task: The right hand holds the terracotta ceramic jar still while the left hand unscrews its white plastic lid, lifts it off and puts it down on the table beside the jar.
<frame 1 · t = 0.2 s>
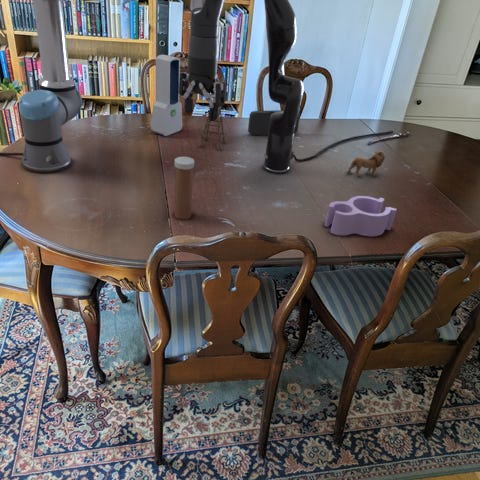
left hand: (198, 84, 152), 30 cm above the table, tool pointing down, fingers open, 13 cm apart
right hand: (200, 116, 127), 29 cm above the table, tool pointing down, fingers open, 8 cm apart
jar: (182, 215, 139), on the table
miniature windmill: (212, 144, 188), on the table
lid: (184, 161, 130), point 17 cm above the table, screwed on, not yet turned
lion figurine: (363, 174, 177), on the table
electronic device: (166, 131, 196), on the table
sword: (389, 139, 213), on the table
handheld gaming console: (272, 134, 205), on the table
clip: (356, 226, 143), on the table
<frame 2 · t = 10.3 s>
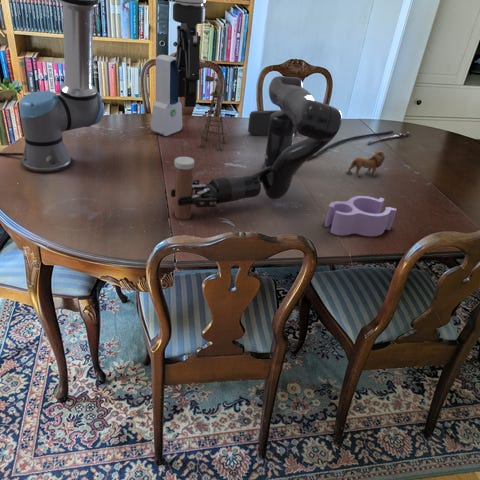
left hand: (186, 101, 121), 34 cm above the table, tool pointing down, fingers open, 7 cm apart
right hand: (175, 197, 135), 6 cm above the table, tool horizontal, fingers closed on jar, 5 cm apart
jar: (182, 215, 139), on the table, touching right hand
everything else where it was.
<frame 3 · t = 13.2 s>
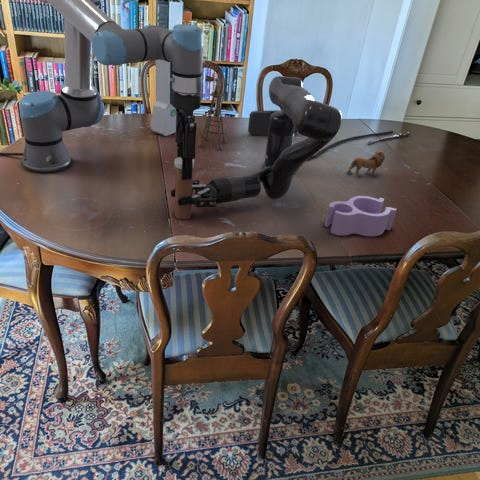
left hand: (184, 174, 132), 13 cm above the table, tool pointing down, fingers closed on lid, 5 cm apart
right hand: (175, 197, 135), 6 cm above the table, tool horizontal, fingers closed on jar, 5 cm apart
jar: (183, 215, 139), on the table, touching right hand
lid: (184, 161, 130), point 17 cm above the table, screwed on, not yet turned, touching left hand
everything else where it was.
when the left hand's fingers open (14 cm above the table, at t = 14.5 s): lid stays where it is, point 18 cm above the table.
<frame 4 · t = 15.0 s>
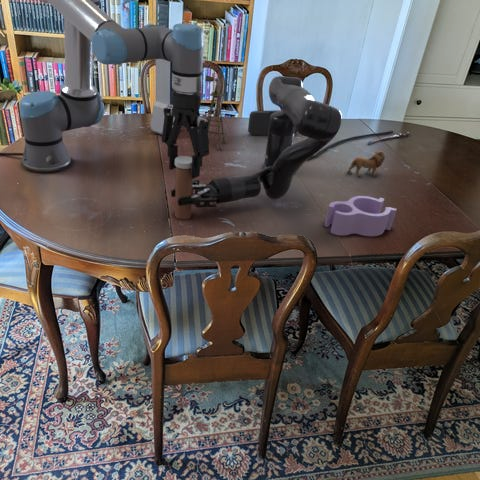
left hand: (184, 172, 132), 14 cm above the table, tool pointing down, fingers open, 7 cm apart
right hand: (175, 197, 135), 6 cm above the table, tool horizontal, fingers closed on jar, 5 cm apart
jar: (183, 215, 139), on the table, touching right hand
lid: (184, 160, 130), point 18 cm above the table, turned 76° so far, risen 0.2 cm, still on its thread
everything else where it was.
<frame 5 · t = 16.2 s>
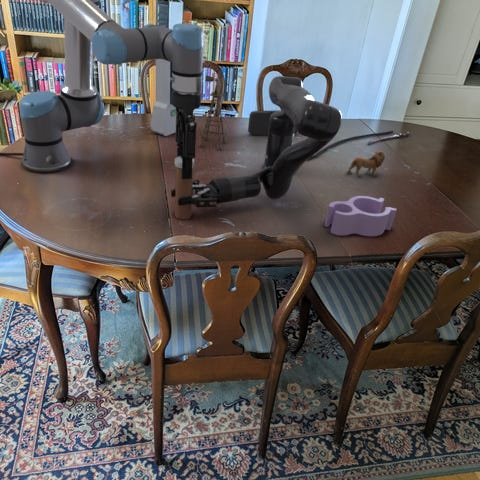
left hand: (184, 173, 132), 14 cm above the table, tool pointing down, fingers closed on lid, 5 cm apart
right hand: (175, 197, 135), 6 cm above the table, tool horizontal, fingers closed on jar, 5 cm apart
jar: (183, 215, 139), on the table, touching right hand
lid: (184, 160, 130), point 18 cm above the table, turned 76° so far, risen 0.2 cm, still on its thread, touching left hand
everything else where it was.
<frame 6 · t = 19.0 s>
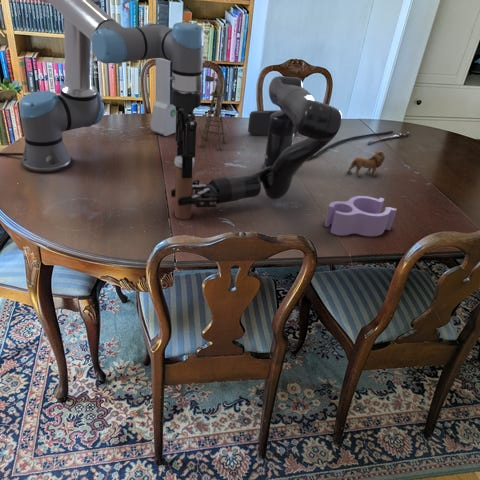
left hand: (184, 172, 132), 14 cm above the table, tool pointing down, fingers closed on lid, 5 cm apart
right hand: (175, 197, 135), 6 cm above the table, tool horizontal, fingers closed on jar, 5 cm apart
jar: (183, 215, 139), on the table, touching right hand
lid: (184, 160, 130), point 18 cm above the table, turned 151° so far, risen 0.4 cm, still on its thread, touching left hand
everything else where it was.
when the left hand's fingers open (0 cm above the table, at t = 29.1 s): lid drops 3 cm, point 1 cm above the table.
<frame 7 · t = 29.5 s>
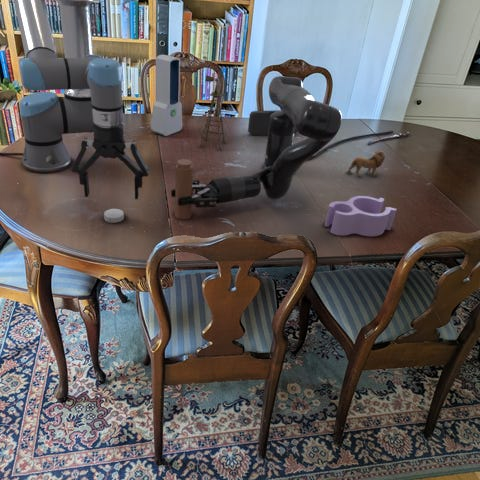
left hand: (112, 195, 131), 7 cm above the table, tool pointing down, fingers open, 13 cm apart
right hand: (175, 197, 135), 6 cm above the table, tool horizontal, fingers closed on jar, 5 cm apart
jar: (183, 215, 139), on the table, touching right hand
lid: (113, 214, 134), point 1 cm above the table, off its thread
everything else where it was.
when the right hand's fingers open (6 cm above the table, at t = 29.7 s): jar stays where it is, on the table.
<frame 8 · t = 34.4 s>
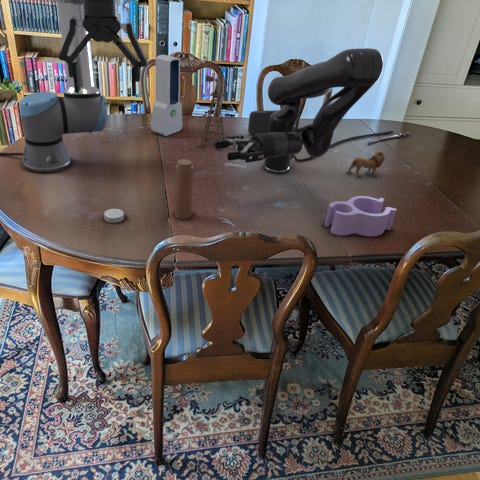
left hand: (106, 93, 115), 36 cm above the table, tool pointing down, fingers open, 13 cm apart
right hand: (221, 150, 134), 19 cm above the table, tool horizontal, fingers open, 8 cm apart
jar: (183, 215, 139), on the table
everything else where it was.
at the end: lid came off its thread; lid point 1.2 cm above the table; the left hand is holding nothing; the right hand is holding nothing; jar tilted 0°; jar moved 0.0 cm from its start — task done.
